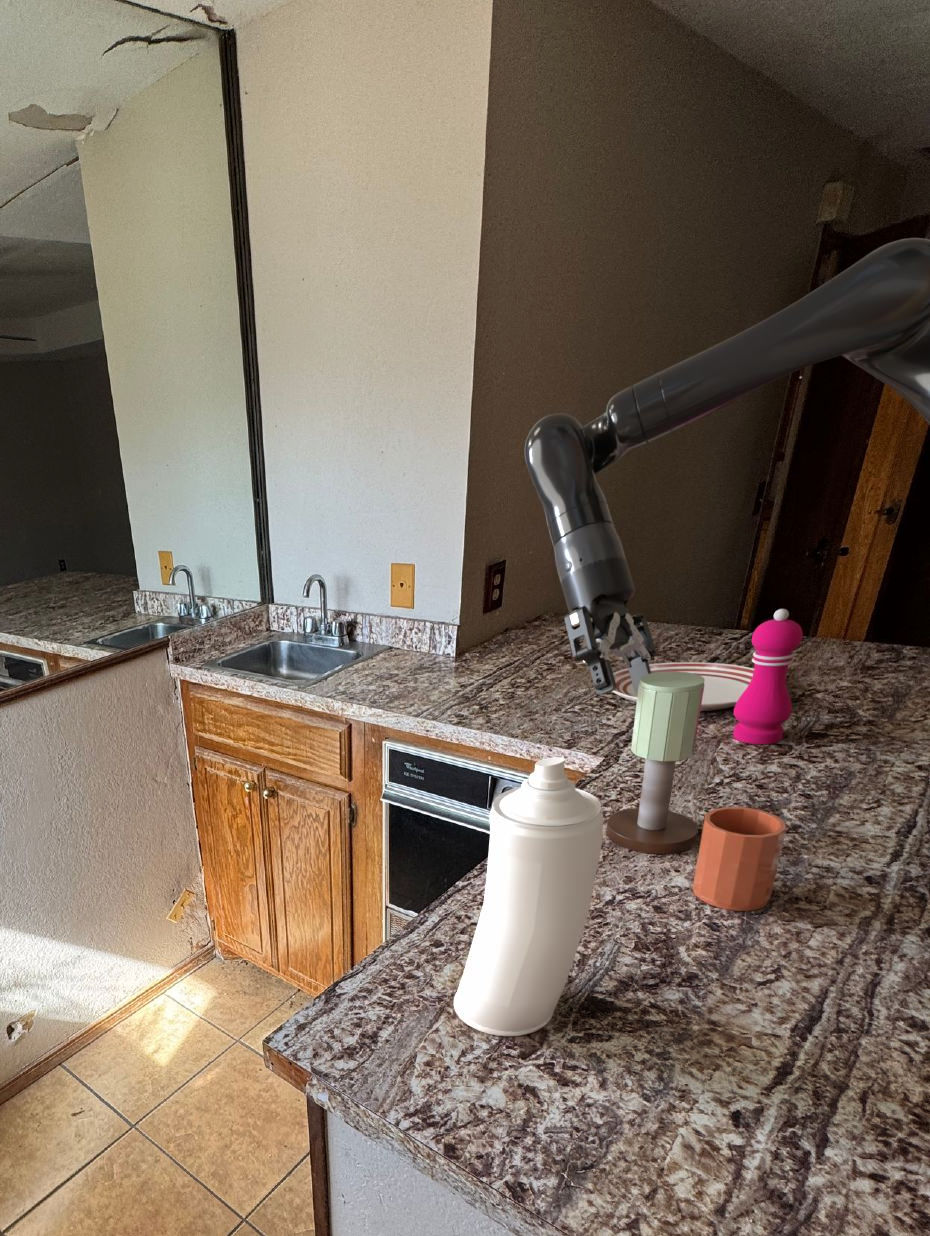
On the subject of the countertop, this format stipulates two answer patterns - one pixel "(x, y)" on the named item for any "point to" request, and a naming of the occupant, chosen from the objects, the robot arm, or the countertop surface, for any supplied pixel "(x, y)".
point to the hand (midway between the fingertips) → (627, 692)
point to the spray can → (531, 902)
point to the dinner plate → (718, 682)
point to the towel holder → (653, 817)
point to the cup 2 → (738, 858)
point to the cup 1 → (667, 715)
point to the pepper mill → (768, 682)
